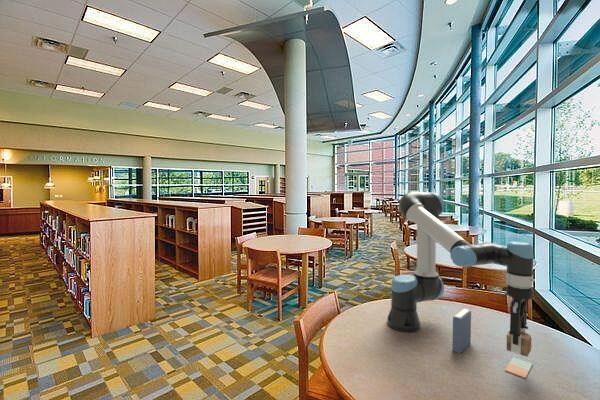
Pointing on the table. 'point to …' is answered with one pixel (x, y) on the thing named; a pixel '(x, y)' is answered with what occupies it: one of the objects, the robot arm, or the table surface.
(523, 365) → the tile sage
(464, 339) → the navy book
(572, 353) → the table surface
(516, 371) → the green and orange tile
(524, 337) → the letter block
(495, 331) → the table surface
